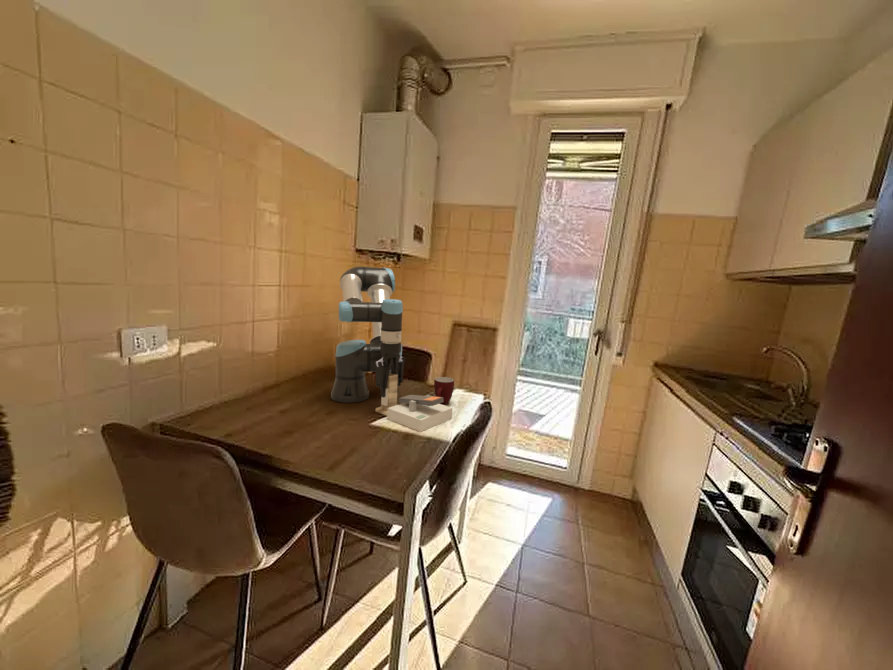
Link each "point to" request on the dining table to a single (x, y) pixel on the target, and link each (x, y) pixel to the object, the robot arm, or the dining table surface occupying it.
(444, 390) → the mug
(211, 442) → the dining table surface
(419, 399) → the rocker
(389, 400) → the wooden post with base
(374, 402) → the dining table surface
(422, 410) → the switch box
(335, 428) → the dining table surface
